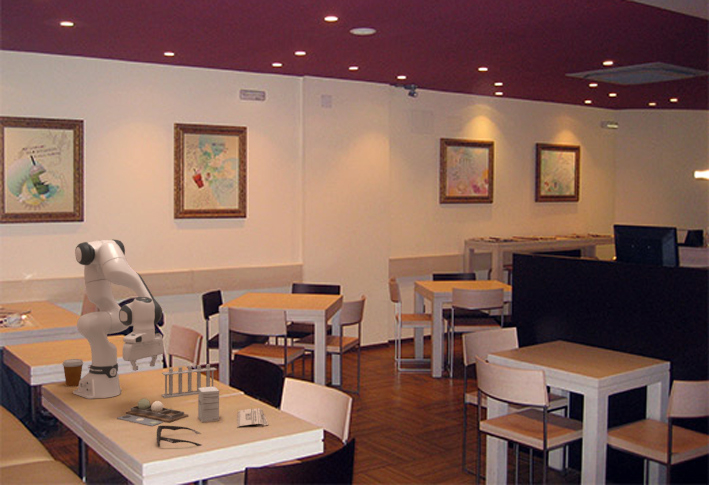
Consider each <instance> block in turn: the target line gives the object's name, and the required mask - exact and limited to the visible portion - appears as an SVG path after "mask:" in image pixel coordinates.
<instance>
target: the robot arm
mask: <svg viewBox="0 0 709 485" xmlns="http://www.w3.org/2000/svg"><path fill="white" fill-rule="evenodd" d="M125 255H126V249H125V245H124V243H123V242H122V241H121V240H119V239H98V240H92V241H88V242H87V241H84V242H80V243H79V244H77V246H76V247H75V251H74V256H75V259H76V261H77V263H78V264H79V265H81V266H83V268H84V269H83V272H84V273H83V274H84V275H83V276H84V277H83V278H84V286H85V292H86V298H87V300H88V301H89V303H91V304H94V305H95V306H96V307H97V309H98V311H91V312H87V313H85V314H81V315H80V317H79V318H78V320H77V323H76V327H77V331H78V333H79V334H80V335H81V336H83V337H84V338H85V339H86V340H87V342H88V344H89V346H90V353H91V365H90V364H89V365H88V366H87V368H88V369H89V370H88V373H86V374H85V375H84V376H83V377H81V380H80V381H79V386H78V388H77V389H75V390H73V391H72V393H73V394H74V395H77V396H79V397H81V398H84V399H91V400H92V399H104V398H105V399H106V398H107V399H108V398H111V397H116V396H118V395H121V394H122V388H121V386H120V377H119V376H120V375H119V373H118V372H119V363H118V348H117V346H116V344H114V343H113V342H111V341H109V339H108V335H111V334H116V333H117V334H118V333H121V332H124V331H125V330H127V329H128V328H130V327H133V328H132V332H130V333H128V334H127V335H125V336H123V338H122V339H123V340H122V341H123V345H122V359H123V361H124V362H129V364H131V366H132V371H135V372H136V371H138V370H139V365H137V364H136V363H137V360H143V359H147V358H151V361H150V362H149V366H150V367H155V366H156V361H157V359H158V356H159V355H163V354H164V352H165V345H164V339H163V335H162V334H161V333H160V332H158V333H155V332H156V330H155V329H156V328H155V325H156V324H158V323H159V322H160V320H161V319H162V318H163V317H162V316H163V309H162V306H161V305H160V304H159V302H158V301H157V300H156V299H155V297H154V296H153V294H152V291H151V290H150V289H149V287H148V285H147V284H146V282H145V281H144V279H143V278H142V276H141V275H140V273H139V272H137V271H135V270H134V269H133V268H132V267H131V266H130V265H129V263H128V261H127V258H126V256H125ZM111 283H112V284H113V285H117V286H122V287H126V288H128V289H130V290H132V291H134V292H135V294H136V295H137V297H135V298H134V299H133V301H132V302H130V303H127V304H126V303H125V304H124V305H122V306H120V305H119V304H118V301H116V298H115V296H114V293H113V289H112V284H111Z"/></svg>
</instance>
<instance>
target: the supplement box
mask: <svg viewBox="0 0 709 485" xmlns="http://www.w3.org/2000/svg"><path fill="white" fill-rule="evenodd" d="M197 395H198V396H197V398H198V400H197V402H198V403H197V407H198V408H197V411H198V412H197V413H198V414H197V415H198V416H197V417H198V419H199V420H200V421H201V423H208V422H217V421H220V390H219V389H218V388H217V387H216V386H213V387H212V386H210V387H206V386H205V387H204V386H203V387H201V388H198V394H197Z"/></svg>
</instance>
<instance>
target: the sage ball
mask: <svg viewBox="0 0 709 485" xmlns="http://www.w3.org/2000/svg"><path fill="white" fill-rule="evenodd" d="M149 400H150V399H147V398H145V397H144V398H141V399H140V400H138V402H137V406H138V408H139V409H141V410H145V409H148V408H149V407H150V405H151V402H150V401H149Z"/></svg>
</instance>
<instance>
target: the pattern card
mask: <svg viewBox="0 0 709 485" xmlns="http://www.w3.org/2000/svg"><path fill="white" fill-rule="evenodd" d="M117 419H118V420H122V421H127V422H131V423H134V424H135V423H136V424H139V425H145V426H148V427H154V426H157V425H158V426H159V425H160V424H161V425H162V424H164V422H162V421H158V420H153V419H149V418H144V417H139V416H135V415H130V414H124V415H122V416H119V417H116V420H117Z"/></svg>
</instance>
